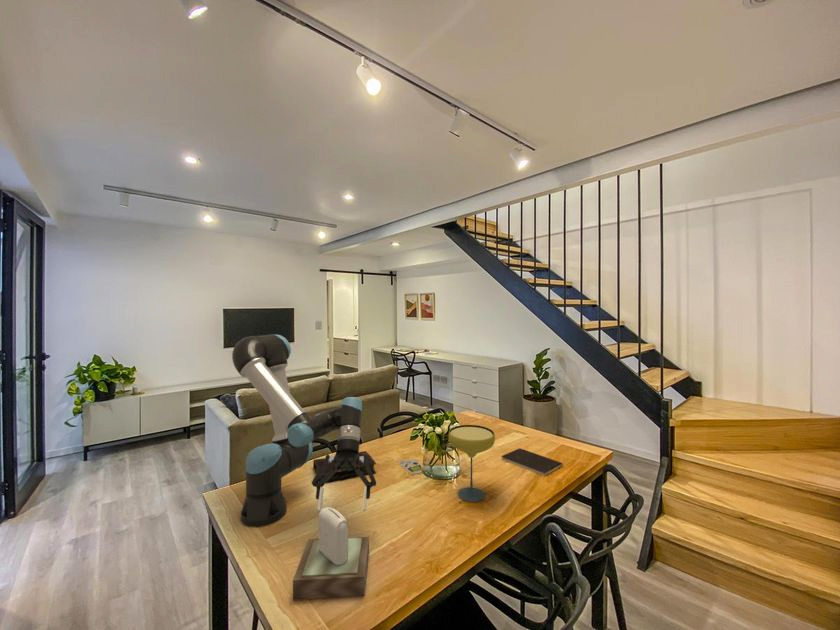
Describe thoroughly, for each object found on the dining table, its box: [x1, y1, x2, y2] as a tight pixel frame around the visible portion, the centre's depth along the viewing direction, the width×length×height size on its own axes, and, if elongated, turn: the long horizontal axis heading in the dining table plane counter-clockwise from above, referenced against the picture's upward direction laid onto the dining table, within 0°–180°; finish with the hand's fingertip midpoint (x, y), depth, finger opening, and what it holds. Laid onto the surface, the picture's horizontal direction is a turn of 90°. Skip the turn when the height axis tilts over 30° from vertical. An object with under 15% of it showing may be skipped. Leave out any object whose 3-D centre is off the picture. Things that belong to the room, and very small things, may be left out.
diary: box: [312, 450, 377, 485], centre depth 162 cm, size 19×25×5 cm
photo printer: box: [318, 506, 349, 565], centre depth 99 cm, size 10×4×12 cm, turn 46°
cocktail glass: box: [448, 424, 496, 503], centre depth 141 cm, size 18×18×25 cm
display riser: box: [292, 536, 370, 601], centre depth 99 cm, size 18×16×5 cm
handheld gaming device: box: [397, 457, 423, 475], centre depth 166 cm, size 9×1×15 cm
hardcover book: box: [501, 447, 563, 477], centre depth 170 cm, size 16×23×2 cm
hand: (341, 510), depth 109 cm, fingers open, 13 cm apart
